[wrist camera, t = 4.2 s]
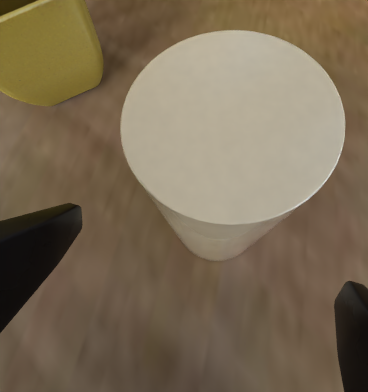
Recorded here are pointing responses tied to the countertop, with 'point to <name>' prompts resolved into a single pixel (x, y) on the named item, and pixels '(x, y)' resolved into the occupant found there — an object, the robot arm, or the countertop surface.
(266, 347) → the countertop surface
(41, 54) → the flower pot
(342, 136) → the tall white cylinder
